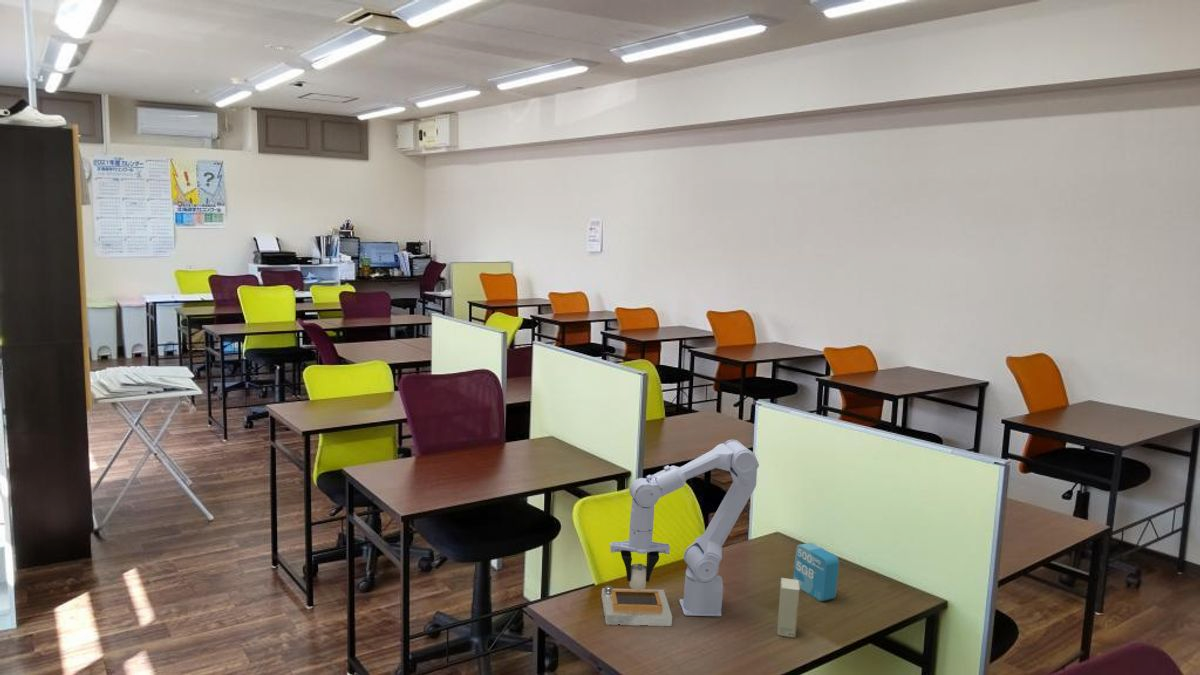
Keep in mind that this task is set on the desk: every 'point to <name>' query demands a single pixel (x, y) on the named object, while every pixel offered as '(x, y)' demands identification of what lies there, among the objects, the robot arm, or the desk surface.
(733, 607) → the desk surface
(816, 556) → the data package
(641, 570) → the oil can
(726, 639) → the desk surface
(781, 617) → the skincare box
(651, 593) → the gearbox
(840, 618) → the desk surface
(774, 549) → the desk surface
